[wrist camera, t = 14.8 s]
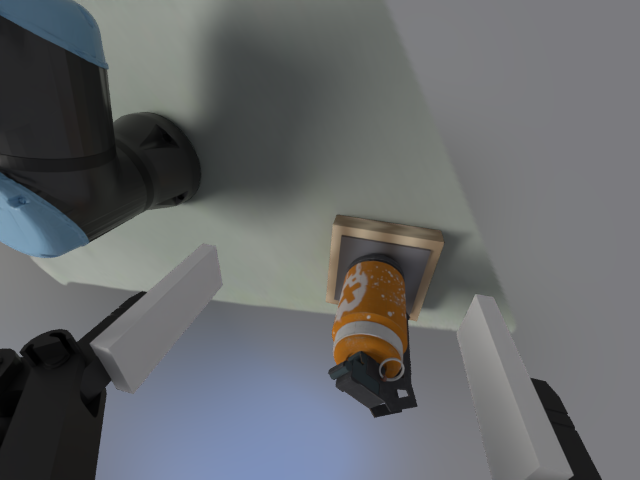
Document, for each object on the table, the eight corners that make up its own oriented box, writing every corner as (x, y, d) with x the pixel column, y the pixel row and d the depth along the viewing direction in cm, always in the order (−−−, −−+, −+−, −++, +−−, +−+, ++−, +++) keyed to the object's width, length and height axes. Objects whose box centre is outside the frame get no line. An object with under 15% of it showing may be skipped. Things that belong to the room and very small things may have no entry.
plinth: (329, 289, 52) (325, 304, 49) (337, 214, 44) (332, 226, 41) (415, 306, 50) (417, 323, 46) (440, 230, 41) (444, 244, 38)
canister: (373, 241, 40) (359, 358, 24) (426, 285, 42) (447, 423, 25) (335, 273, 45) (301, 390, 28) (384, 312, 47) (379, 443, 30)
